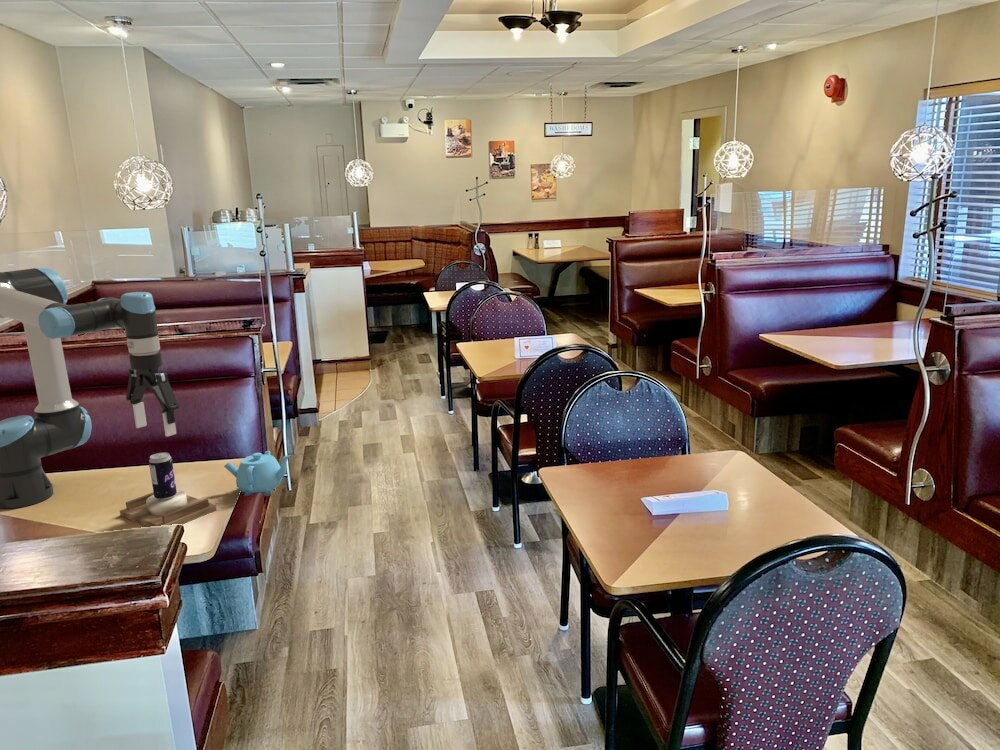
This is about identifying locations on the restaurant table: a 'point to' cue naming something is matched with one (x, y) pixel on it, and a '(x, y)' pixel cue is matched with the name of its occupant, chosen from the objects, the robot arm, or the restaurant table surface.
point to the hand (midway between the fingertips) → (156, 430)
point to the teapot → (258, 473)
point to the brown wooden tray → (166, 509)
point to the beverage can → (162, 476)
